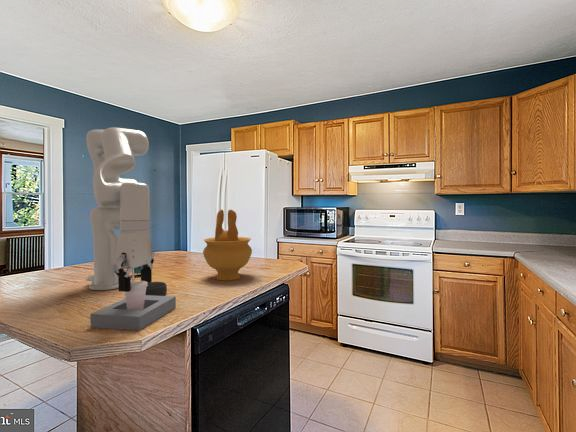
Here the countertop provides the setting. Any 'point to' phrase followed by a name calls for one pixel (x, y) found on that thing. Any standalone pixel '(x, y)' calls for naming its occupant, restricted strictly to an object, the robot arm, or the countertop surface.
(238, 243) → the decorative bowl
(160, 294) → the smart speaker
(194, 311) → the countertop surface
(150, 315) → the socket block
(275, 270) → the countertop surface
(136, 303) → the smoothie
